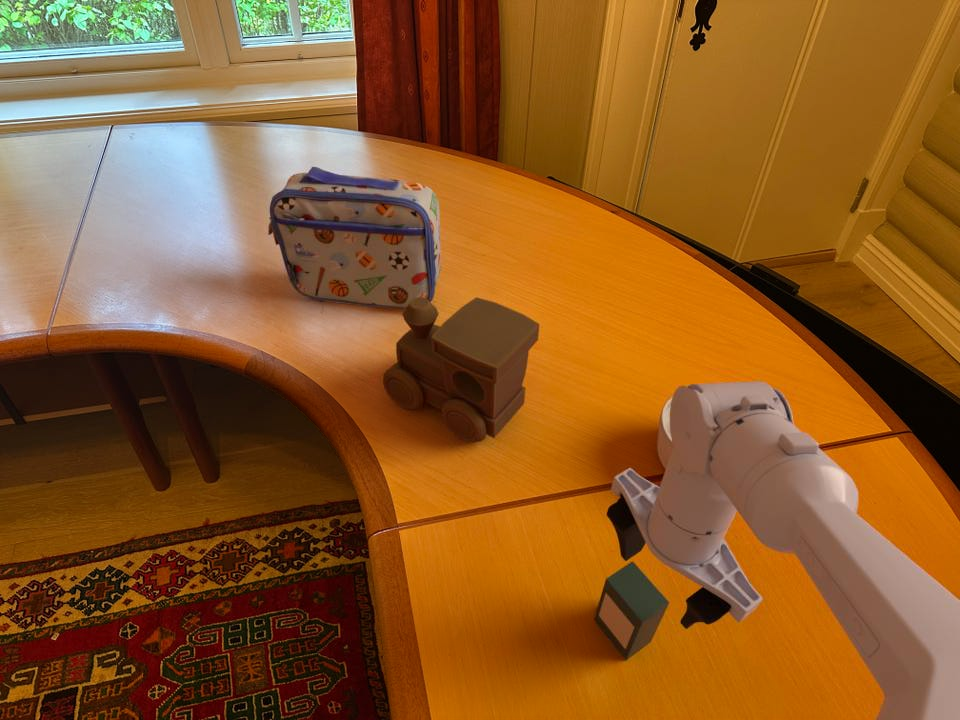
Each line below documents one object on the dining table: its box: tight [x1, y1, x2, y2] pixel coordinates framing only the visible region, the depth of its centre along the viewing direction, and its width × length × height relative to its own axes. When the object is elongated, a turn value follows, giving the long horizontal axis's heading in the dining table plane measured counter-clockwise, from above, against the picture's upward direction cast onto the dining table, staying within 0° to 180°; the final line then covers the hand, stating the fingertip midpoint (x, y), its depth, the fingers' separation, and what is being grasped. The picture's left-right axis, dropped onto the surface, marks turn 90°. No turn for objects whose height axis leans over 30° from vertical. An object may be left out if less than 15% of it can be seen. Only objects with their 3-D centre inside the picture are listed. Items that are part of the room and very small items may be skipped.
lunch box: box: [267, 166, 442, 310], centre depth 98 cm, size 28×10×22 cm, turn 82°
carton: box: [593, 560, 670, 661], centre depth 60 cm, size 9×5×4 cm
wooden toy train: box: [382, 296, 540, 444], centre depth 81 cm, size 20×11×17 cm, turn 55°
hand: (659, 585), depth 56 cm, fingers open, 7 cm apart
